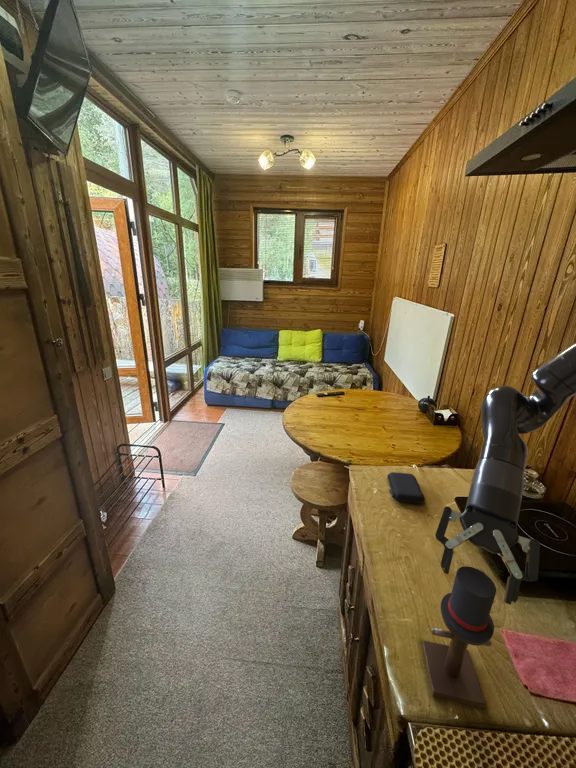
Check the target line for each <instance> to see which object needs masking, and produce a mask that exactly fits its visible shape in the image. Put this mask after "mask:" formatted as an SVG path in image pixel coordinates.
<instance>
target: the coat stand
mask: <svg viewBox="0 0 576 768" xmlns="http://www.w3.org/2000/svg"><path fill="white" fill-rule="evenodd" d="M441 618H442V621H443V623H444V625H445V627H446V628H447V629H448V630H446V629H441V628H436V627H431V629H430V633H431V634H432V635H433V636H436V637H442V638H445V639H446V638H447V639H450V642H449V645H447V644H442V643H437V642H432V641H428V640H422V643H421V646H422V651H423V656H424V662H425V666H426V672H427V677H428V681H429V686H430V692H431V696H432V697H434V698H439V699H442V700H446V701H451V702H456V703H459V704H463V705H467V706H472V707H476V708H480V709H485V707H486V701H485V699H484V695H483V692H482V689H481V686H480V683H479V680H478V676H477V674H476V671H475V668H474V664H473V661H472V658H471V655H470V652H469V649H468V646H469V645H471V646H477V647H478V646H485V647H491V646H492V641H491V639H490V640H489V641H488V642H485V643H474V642H470V641H468V640H465V639H463V638H462V637H460V636H459V635H457V634H456V633H455V632H454V631H453V630H452V629H451V628H450V627H449V626H448V625H447V624H446V622H445V620H444V619H443V616H442V615H441Z"/></svg>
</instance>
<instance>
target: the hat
mask: <svg viewBox="0 0 576 768" xmlns="http://www.w3.org/2000/svg"><path fill="white" fill-rule="evenodd" d="M496 594H497V587H496V584H495V583H494V581H493V579H491V577H490V576H489V575H487V574H486V573H485V572H483V571H482V570H480V569H478V568H476V567H472V566H467V565H466V566H465V565H464V566H461V567H459V568H458V569H456V572H455V577H454V581H453V585H452V589H451V592H447V593H446V594H445V595H444V596H443V597H442V599H441V602H440V605H439V606H440V607H439V608H440V613H441V617H442V616H443V618H442V620H443V619H444V620H445V622H446V624H447V625H448V626H449V627H450V628H451V629H452V630H453V631H454V632H455V633H456V634H457V635H459V636H460V637H462V638H463V639H465V640H468V641H470V642H474V643H485V642H488V641H489V640H490V641H491V639H492V638H493V636H494V632H495V623H494V621H493V618H492V617H491V611H492V607H493V604H494V602H495V597H496Z"/></svg>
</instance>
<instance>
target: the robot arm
mask: <svg viewBox="0 0 576 768" xmlns="http://www.w3.org/2000/svg"><path fill="white" fill-rule="evenodd" d="M530 379H531V381H532V383H533V384H534V386H535V390H534V391H533V392H532V393H531V394H530V395H529V396H527V395H526V394H524V393H522V392H521V391H520V390H518V389H517V388H515V387H514V386H513V387H512V386H511V385H497V386H495V387H494V388H493V387H492V389H490V390H489V391H488V392H487V393H486V395H485V396H484V398H483V400H482V403H481V406H480V421H481V422H480V424H481V435H482V443H481V448H480V451H479V456H478V460H477V463H476V466H475V468H474V471H473V475H472V478H471V483H470V487H469V490H468V495H467V500H466V504H465V508H464V511H463V512H462V513H461V512H458V511H455V510H454V509H452V507H450V506H445V507H444V508H443V511H442V513H441V517H440V520H439V523H438V526H437V528H436V532H435V539H436V541H438V542H439V543H440V544H441V545H442V546H443V552H442V556H441V561H440V566H441V568H442V569H443V573H444V574H446V575H449V574H450V569H451V564H452V562H453V561H452V560H453V558H454V557H453V556H454V553H455V551H454V549H456V548H458V547H459V546H461V545H463V544H465V543H466V542H469V543H470V544H471V545H472V546H474V547H477V548H481V549H484V550H485V551H487V552H488V553H490V554H493V555H494V554H495V555H498V554H499V556H500V558H501V560H502V561H503V563H504V565H505V566H506V568H507V571H508V573H509V576H507V580H506V587H505V592H504V597H503V603H505V604H507V605H509V606H511V605H512V603H514V604H515V603H517V601H519V594H520V588H521V583H522V582H523V581H528V582H537V581H538V580H539V571H540V570H539V568H540V556H541V555H540V554H541V542H540V541H539V540H538V539H535V538H533V539H531V538H527V537H525V536H521V535H519V533H518V522H519V517H520V511H521V505H522V499H523V494H524V488H525V473H526V467H527V461H528V454H529V448H528V447H529V446H528V444H527V443H526V441H525V440H524V439H523V437H521V435H523V434H524V435H525V434H530V433H532V432H535V431H538V430H539V429H541V428H543V426H545V425H546V424H547V423H548V422H549V421H550V420H551V419H552V418H553V417H554V415H555V414H557V412H559V411H560V410H561V409H562V407H563V406H564V405H565V404H566V403H567V402H568V401H569V399H571V398H572V397H574V396H576V341H575V342H573V343H572V344H570V345H568V346H566V347H565V348H564V349H562V350H561V351H559V352H558V353H556V354H555V355H554V356H553V357H551V358H549V359H548V360H546V361H545V362H544V363H543V364H541V365H540V366H538V367H537V368H535V369H534V370H533V372H532V373H531V374H530ZM456 520H459V523H460V525H461V528H462V529H463V531H461V532H459V533H457V535H455V536H453V537H452V538H450V539H448V538H447V537H446V536H445V535H446V532H447V529H448V526H449V523H450V524H453V523H455V522H456ZM517 543H518V544H520V546H521V550H522V551H523V552H524V553H526V557H525V570H521V569H520V567H519V565H518V563H517V561H516V559H515V557H514V555H513V552H512V550H511V549H510V548H511V547H512V546H514V545H516V544H517Z"/></svg>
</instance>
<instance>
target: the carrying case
mask: <svg viewBox="0 0 576 768" xmlns="http://www.w3.org/2000/svg"><path fill="white" fill-rule="evenodd" d="M387 479H388V484H389V487H390V489H388V493H389V495H390V496H391V497H392V498H393V499H394V500H395V501H396V502H398V503H403V504H412V505H413V504H415V505H422V504H424V503H425V502H426V498H425V495H424V493H423V490H422V489H421V486H420V484H419V481H418V480H417V478H416V476H415V475H414V474H413V473H409V472H407V473H406V472H396V471H391V472H389V473H388V474H387Z"/></svg>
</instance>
